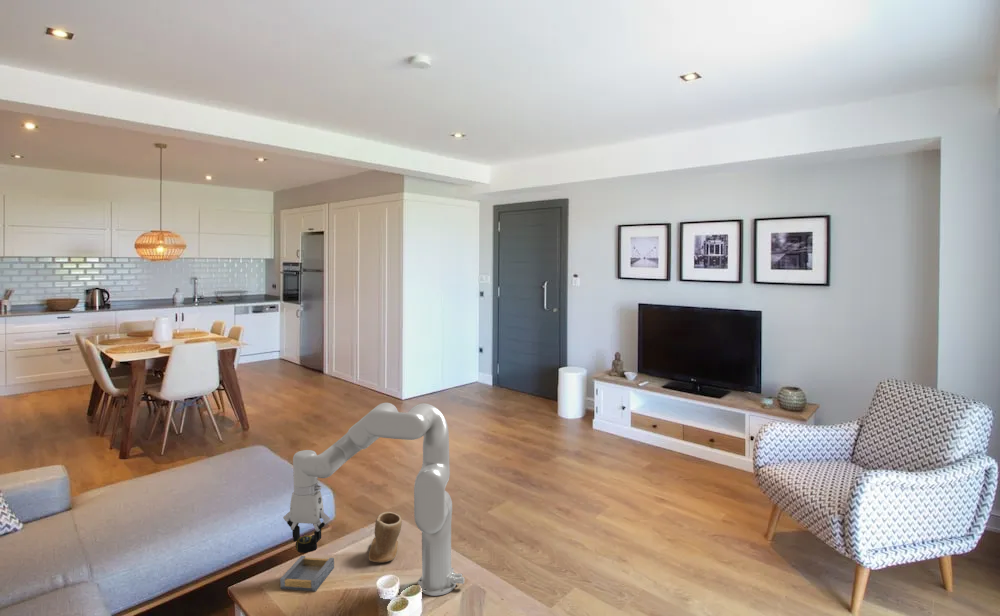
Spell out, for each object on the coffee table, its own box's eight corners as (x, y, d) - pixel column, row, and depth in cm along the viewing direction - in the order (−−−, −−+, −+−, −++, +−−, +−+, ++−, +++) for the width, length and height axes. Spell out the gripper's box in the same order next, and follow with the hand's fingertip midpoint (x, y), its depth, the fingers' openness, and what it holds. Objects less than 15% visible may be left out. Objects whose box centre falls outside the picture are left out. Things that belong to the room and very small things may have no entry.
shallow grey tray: (334, 567, 188) (334, 558, 187) (315, 591, 174) (315, 581, 173) (301, 565, 189) (301, 555, 189) (280, 588, 175) (280, 578, 175)
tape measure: (317, 553, 178) (317, 542, 178) (295, 556, 176) (294, 545, 176) (317, 543, 185) (317, 533, 185) (296, 546, 183) (296, 535, 183)
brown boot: (400, 564, 189) (399, 523, 188) (365, 565, 189) (364, 524, 188) (405, 543, 205) (404, 504, 204) (373, 544, 204) (372, 505, 203)
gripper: (335, 485, 182) (336, 536, 183) (286, 482, 184) (288, 533, 185) (325, 494, 174) (326, 547, 176) (275, 491, 177) (276, 544, 178)
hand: (307, 540), depth 180 cm, fingers closed on tape measure, 6 cm apart
